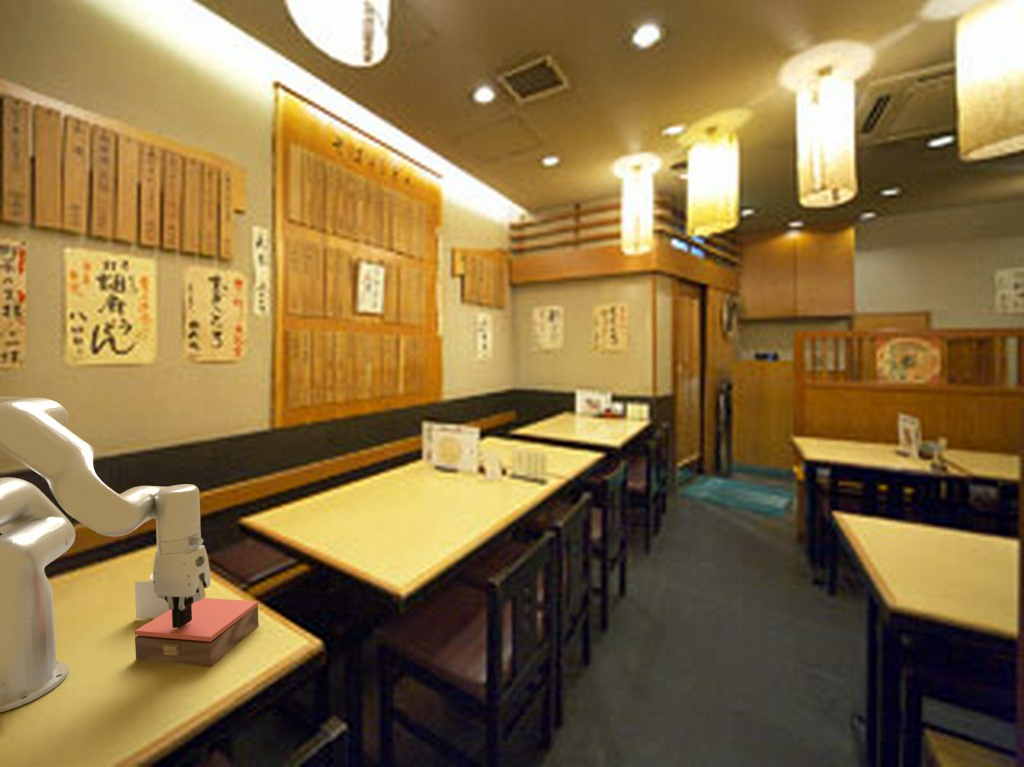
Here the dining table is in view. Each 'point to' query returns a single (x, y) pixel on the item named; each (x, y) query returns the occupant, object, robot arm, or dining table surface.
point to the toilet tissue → (148, 601)
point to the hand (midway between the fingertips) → (182, 624)
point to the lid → (200, 620)
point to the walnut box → (195, 645)
